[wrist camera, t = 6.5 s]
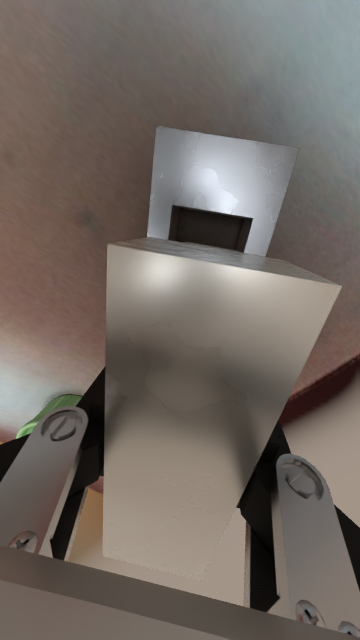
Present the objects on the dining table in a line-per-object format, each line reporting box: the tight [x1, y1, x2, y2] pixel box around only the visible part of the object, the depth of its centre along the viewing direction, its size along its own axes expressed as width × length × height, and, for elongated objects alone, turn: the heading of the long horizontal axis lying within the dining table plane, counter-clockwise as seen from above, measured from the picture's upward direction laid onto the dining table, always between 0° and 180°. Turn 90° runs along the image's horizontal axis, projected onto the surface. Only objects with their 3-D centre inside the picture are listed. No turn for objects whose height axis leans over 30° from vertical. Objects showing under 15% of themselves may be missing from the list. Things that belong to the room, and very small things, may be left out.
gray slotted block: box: [147, 126, 299, 257], centre depth 16 cm, size 20×7×4 cm, turn 171°
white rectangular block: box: [103, 237, 342, 581], centre depth 9 cm, size 12×4×7 cm, turn 171°
